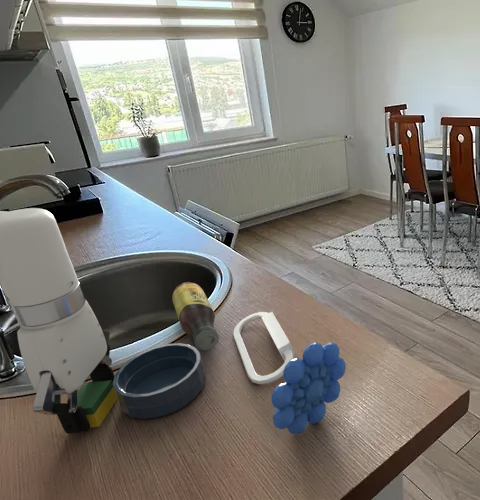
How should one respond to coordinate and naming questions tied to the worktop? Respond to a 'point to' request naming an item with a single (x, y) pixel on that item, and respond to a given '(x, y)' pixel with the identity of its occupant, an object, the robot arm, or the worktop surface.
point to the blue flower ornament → (308, 387)
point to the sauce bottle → (195, 315)
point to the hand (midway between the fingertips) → (93, 408)
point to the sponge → (96, 400)
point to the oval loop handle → (279, 340)
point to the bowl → (159, 380)
